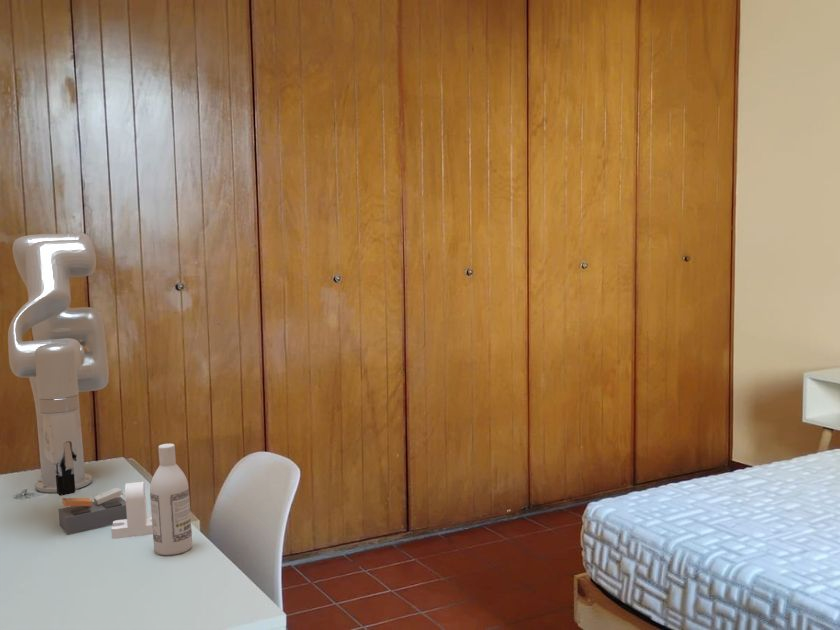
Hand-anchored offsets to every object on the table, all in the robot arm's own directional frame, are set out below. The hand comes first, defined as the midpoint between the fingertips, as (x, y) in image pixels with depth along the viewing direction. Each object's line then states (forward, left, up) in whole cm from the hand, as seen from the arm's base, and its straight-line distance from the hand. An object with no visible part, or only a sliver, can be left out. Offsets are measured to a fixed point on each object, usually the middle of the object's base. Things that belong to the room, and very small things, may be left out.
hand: (66, 493), depth 171 cm
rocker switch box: (0, +5, -7) cm, 9 cm away
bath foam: (+26, +13, -7) cm, 30 cm away
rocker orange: (0, +2, -2) cm, 3 cm away
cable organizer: (+12, +11, -8) cm, 18 cm away
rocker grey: (0, +8, -2) cm, 8 cm away
